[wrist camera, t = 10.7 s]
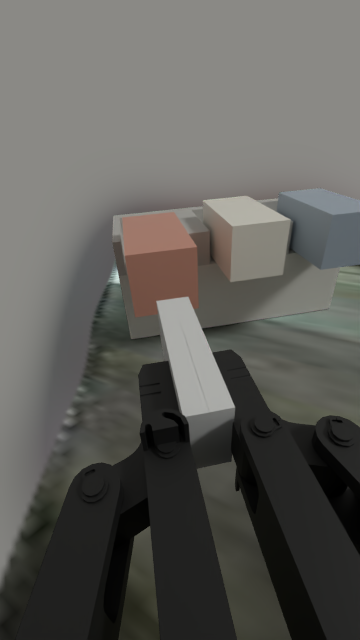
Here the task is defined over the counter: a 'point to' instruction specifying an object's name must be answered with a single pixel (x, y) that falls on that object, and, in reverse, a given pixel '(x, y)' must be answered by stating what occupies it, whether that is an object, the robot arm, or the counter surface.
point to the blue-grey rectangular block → (323, 226)
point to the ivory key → (246, 237)
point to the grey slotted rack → (233, 297)
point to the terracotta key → (159, 261)
